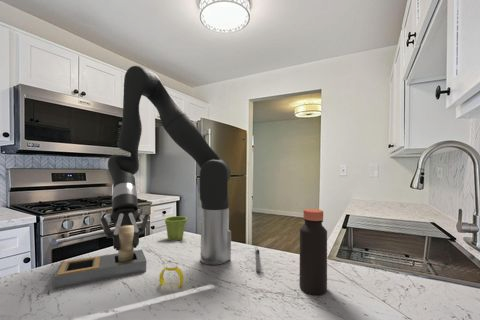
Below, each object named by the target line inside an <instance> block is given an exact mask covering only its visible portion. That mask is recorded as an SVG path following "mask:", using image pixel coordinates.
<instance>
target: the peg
mask: <svg viewBox="0 0 480 320" xmlns="http://www.w3.org/2000/svg"><path fill="white" fill-rule="evenodd" d="M133 245H134V226H133V225H125V226H120V227H119V250H117V251H118V252H117V253H118V263H119V262H125V261H131V260H133V251H134V249H135V248H134V246H133Z"/></svg>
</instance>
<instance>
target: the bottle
mask: <svg viewBox="0 0 480 320" xmlns="http://www.w3.org/2000/svg"><path fill="white" fill-rule="evenodd" d="M303 221H304V224H303V225H302V226H301V227H300V228H299V284H298V285H299V288H300V289H301V290H302V291H303V292H304V293H307V294H309V295H313V296H322V295H325V294H326V293H327V292H328V230H327V229H326V228H325V226H323V223H324V210H322V209H316V208H305V209H303Z"/></svg>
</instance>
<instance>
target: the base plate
mask: <svg viewBox="0 0 480 320" xmlns="http://www.w3.org/2000/svg"><path fill="white" fill-rule="evenodd" d="M145 272H147V260H146V255H145V254H144V251H143V249H137V250H133V260H131V261H125V262H119V263H118V252H117V253H111V254H103V255H96V256H92V257H85V258H77V259H73V260H66V261H60V263H59V264H58V267H57V269H56V272H55V273H54V275H53V279H52V286H53V287H52V290H53V291H55V290H59V289H64V288H69V287H74V286H80V285H85V284H90V283H94V282H99V281H104V280H110V279H115V278H119V277H125V276H130V275H135V274H140V273H145Z"/></svg>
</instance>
